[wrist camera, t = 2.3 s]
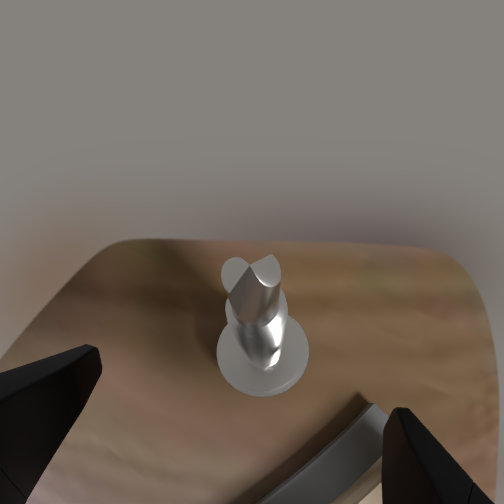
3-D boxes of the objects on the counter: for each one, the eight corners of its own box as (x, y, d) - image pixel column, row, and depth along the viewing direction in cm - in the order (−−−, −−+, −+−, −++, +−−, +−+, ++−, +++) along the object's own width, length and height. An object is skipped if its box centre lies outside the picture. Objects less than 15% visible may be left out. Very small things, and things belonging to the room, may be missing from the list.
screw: (321, 355, 18) (263, 414, 17) (263, 302, 20) (205, 356, 18) (406, 260, 6) (248, 436, 5) (250, 145, 8) (100, 266, 7)
